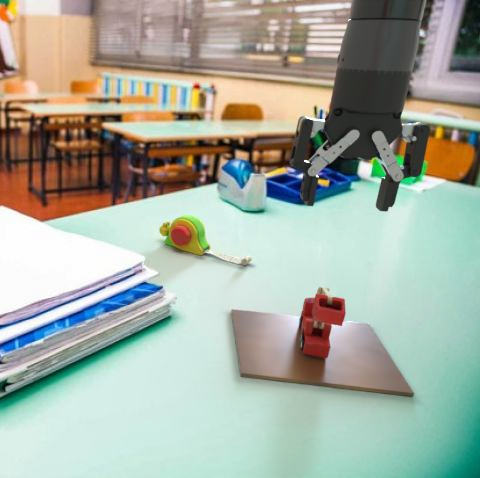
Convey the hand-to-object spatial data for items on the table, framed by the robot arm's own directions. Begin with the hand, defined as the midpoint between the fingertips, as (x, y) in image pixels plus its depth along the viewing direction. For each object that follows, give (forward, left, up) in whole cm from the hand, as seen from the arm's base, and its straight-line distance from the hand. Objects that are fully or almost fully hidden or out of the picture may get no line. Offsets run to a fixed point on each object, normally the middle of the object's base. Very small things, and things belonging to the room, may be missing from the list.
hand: (344, 207), depth 60 cm
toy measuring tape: (+15, -30, -20) cm, 39 cm away
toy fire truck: (+1, +1, -20) cm, 20 cm away
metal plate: (+1, +1, -20) cm, 20 cm away
